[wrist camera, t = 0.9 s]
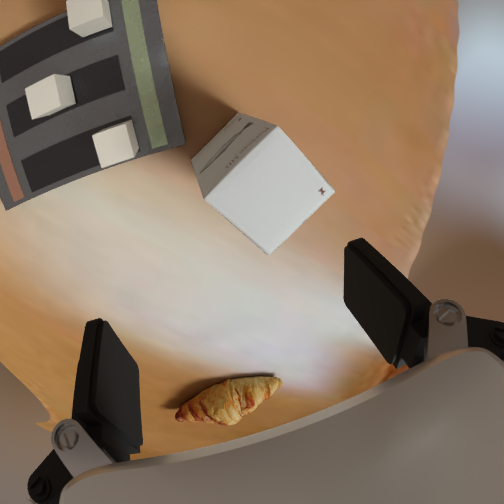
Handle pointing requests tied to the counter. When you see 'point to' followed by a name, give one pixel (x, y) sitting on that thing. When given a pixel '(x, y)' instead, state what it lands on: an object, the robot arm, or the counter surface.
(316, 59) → the counter surface
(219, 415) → the croissant
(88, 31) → the block
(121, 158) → the block
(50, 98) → the block
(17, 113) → the panel
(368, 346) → the counter surface
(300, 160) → the supplement box
